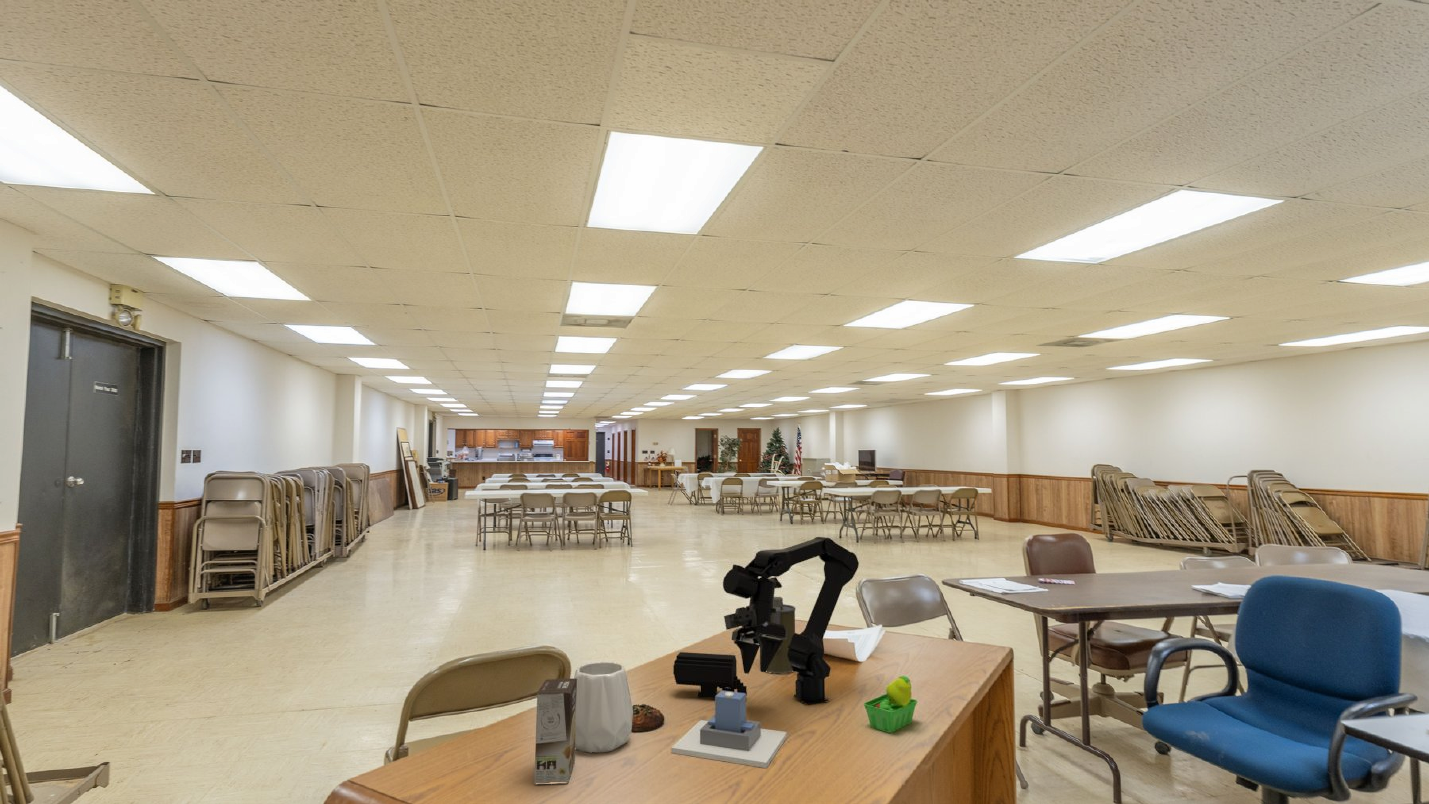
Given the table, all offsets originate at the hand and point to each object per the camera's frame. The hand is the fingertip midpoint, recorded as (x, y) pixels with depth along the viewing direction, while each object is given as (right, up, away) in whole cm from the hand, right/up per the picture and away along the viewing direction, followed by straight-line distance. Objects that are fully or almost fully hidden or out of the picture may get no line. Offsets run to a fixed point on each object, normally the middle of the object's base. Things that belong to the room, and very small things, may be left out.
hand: (754, 672), depth 150 cm
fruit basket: (+31, -11, -3) cm, 33 cm away
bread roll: (-26, -11, -1) cm, 28 cm away
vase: (-33, -10, -12) cm, 37 cm away
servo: (-6, -9, -13) cm, 17 cm away
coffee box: (-39, -8, -26) cm, 48 cm away
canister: (+9, -16, +40) cm, 44 cm away
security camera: (-10, -13, +16) cm, 23 cm away
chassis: (-6, -10, -13) cm, 17 cm away
